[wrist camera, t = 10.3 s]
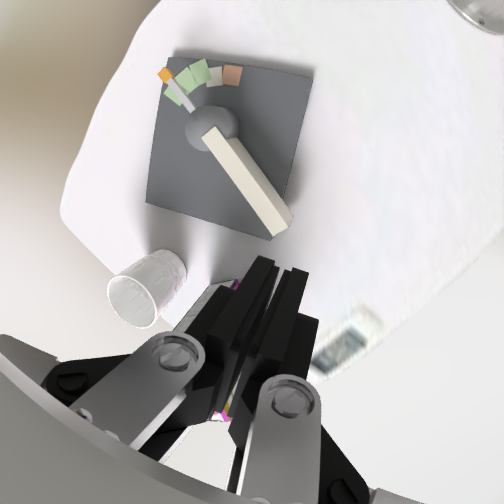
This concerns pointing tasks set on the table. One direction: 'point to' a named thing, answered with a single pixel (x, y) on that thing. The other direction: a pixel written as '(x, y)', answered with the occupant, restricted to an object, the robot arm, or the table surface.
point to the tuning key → (231, 156)
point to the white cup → (146, 288)
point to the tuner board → (251, 136)
